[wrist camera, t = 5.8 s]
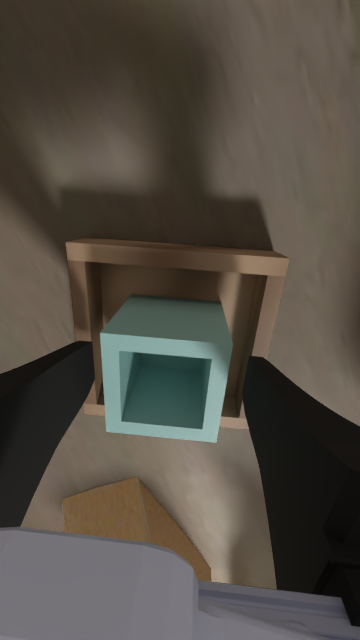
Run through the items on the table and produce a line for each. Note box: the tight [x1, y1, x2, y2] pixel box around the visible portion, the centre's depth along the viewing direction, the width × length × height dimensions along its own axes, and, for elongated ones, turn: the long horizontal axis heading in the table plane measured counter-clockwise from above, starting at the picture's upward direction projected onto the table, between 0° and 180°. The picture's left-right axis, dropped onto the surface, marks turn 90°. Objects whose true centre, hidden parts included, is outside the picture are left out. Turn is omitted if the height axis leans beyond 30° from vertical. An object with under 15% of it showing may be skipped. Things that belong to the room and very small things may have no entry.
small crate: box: [100, 294, 233, 443], centre depth 13 cm, size 5×5×5 cm
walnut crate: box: [66, 237, 290, 430], centre depth 14 cm, size 10×10×2 cm
